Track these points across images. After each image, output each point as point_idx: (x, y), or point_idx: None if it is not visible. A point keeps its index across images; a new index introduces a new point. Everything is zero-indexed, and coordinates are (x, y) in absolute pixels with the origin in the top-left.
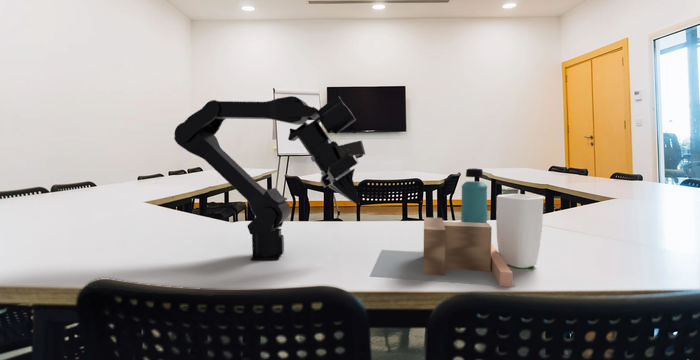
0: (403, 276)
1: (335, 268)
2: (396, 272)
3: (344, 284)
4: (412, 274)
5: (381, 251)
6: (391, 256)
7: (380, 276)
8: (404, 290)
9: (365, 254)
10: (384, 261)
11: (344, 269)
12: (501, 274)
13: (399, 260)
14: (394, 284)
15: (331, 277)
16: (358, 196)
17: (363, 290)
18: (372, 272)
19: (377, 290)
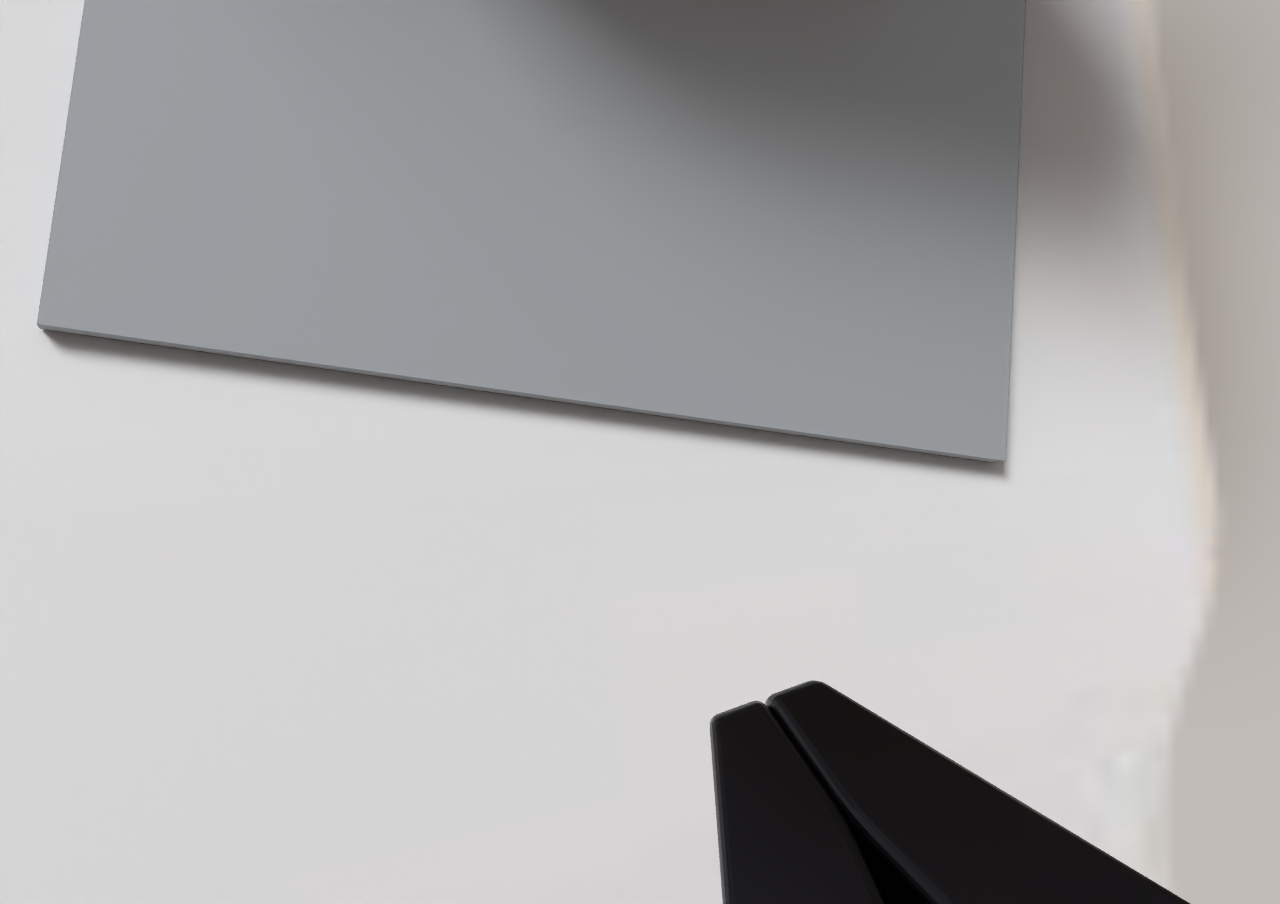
0: (979, 151)
1: None
2: (895, 203)
3: (1136, 673)
4: (921, 61)
5: (137, 329)
6: (372, 203)
7: (1005, 361)
8: (1169, 185)
9: (217, 567)
10: (580, 305)
11: None
12: None
13: (531, 122)
14: (1082, 250)
15: None
16: (937, 755)
17: (1211, 500)
18: (918, 438)
19: (1197, 392)
